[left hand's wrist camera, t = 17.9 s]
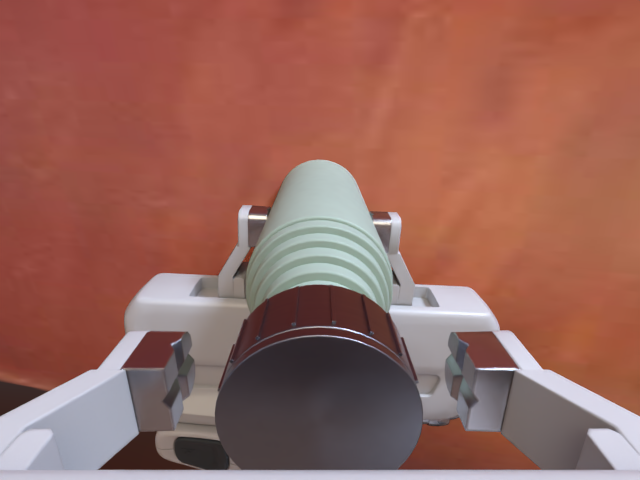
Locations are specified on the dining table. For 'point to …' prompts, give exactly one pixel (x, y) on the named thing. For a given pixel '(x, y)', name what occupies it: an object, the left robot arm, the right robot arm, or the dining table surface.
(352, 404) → the cap
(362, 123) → the dining table surface
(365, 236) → the bottle
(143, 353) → the left robot arm
